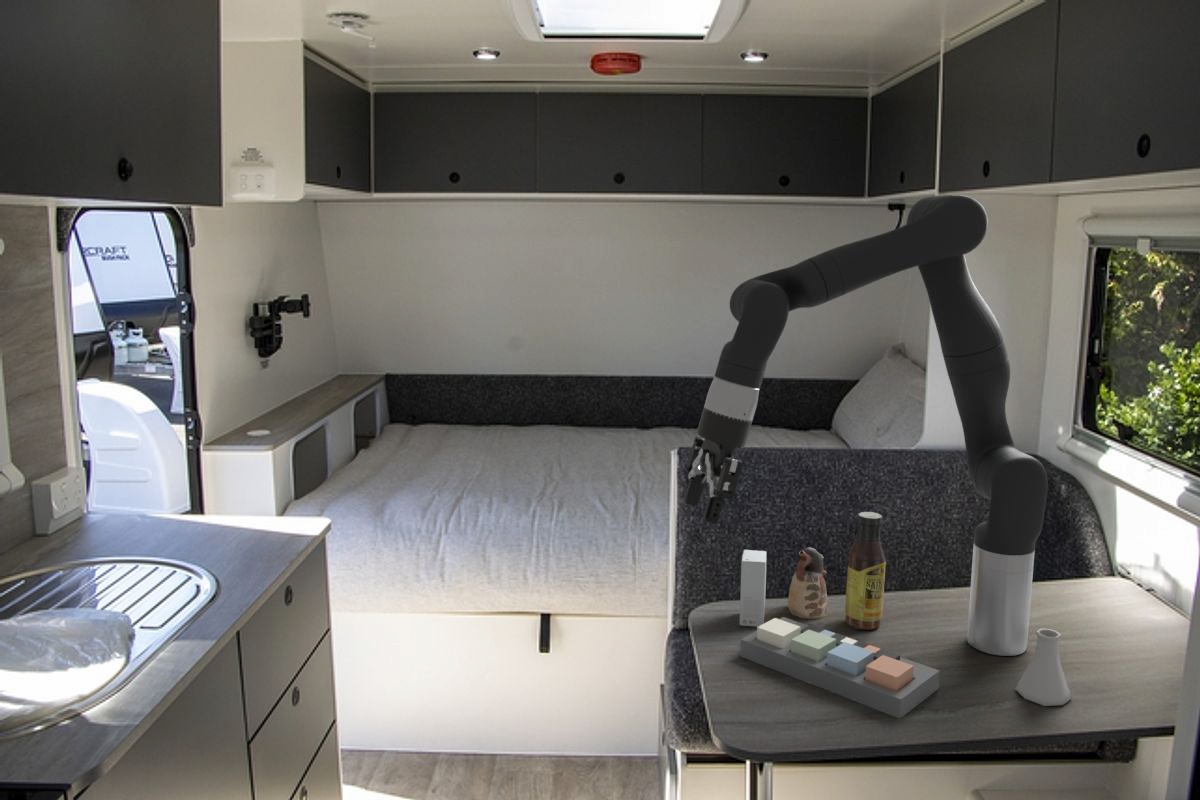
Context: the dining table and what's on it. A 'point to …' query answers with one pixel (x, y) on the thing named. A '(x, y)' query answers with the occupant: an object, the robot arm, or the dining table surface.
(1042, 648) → the flask
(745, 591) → the skincare box
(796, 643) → the key sage
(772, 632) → the key cream
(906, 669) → the block
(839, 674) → the keypad board
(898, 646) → the dining table surface
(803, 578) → the figurine
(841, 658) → the key blue
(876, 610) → the sauce bottle
